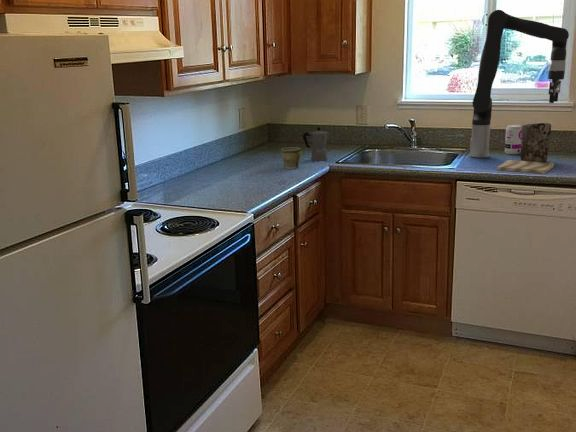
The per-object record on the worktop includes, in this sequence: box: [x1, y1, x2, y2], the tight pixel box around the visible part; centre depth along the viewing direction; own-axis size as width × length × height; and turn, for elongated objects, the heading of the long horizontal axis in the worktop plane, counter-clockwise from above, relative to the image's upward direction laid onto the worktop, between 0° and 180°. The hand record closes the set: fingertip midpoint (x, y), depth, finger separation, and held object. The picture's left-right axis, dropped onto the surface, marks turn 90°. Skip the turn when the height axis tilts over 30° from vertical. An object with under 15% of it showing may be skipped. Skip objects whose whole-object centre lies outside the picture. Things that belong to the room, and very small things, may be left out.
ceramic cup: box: [280, 146, 305, 170], centre depth 321 cm, size 13×10×10 cm
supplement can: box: [504, 124, 522, 155], centre depth 342 cm, size 8×8×15 cm
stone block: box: [520, 121, 552, 162], centre depth 316 cm, size 13×7×20 cm, turn 108°
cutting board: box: [496, 159, 555, 175], centre depth 305 cm, size 22×20×2 cm
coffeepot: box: [302, 126, 331, 162], centre depth 340 cm, size 15×9×18 cm, turn 99°
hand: (553, 102), depth 319 cm, fingers open, 8 cm apart
